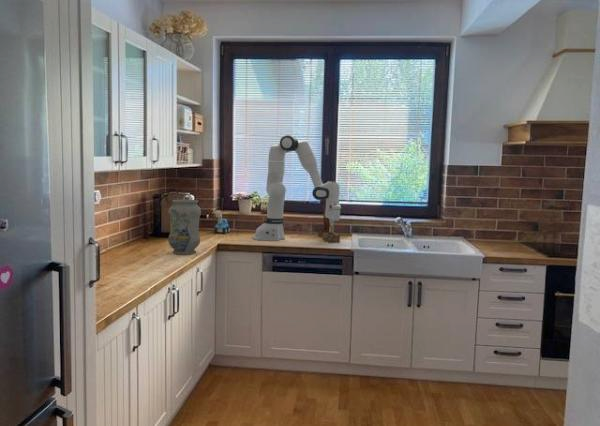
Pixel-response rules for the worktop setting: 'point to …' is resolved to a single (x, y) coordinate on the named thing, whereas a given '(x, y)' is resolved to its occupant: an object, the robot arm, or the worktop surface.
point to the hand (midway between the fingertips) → (331, 225)
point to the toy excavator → (221, 224)
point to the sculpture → (325, 223)
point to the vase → (184, 226)
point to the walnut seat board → (331, 237)
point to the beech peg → (331, 230)
